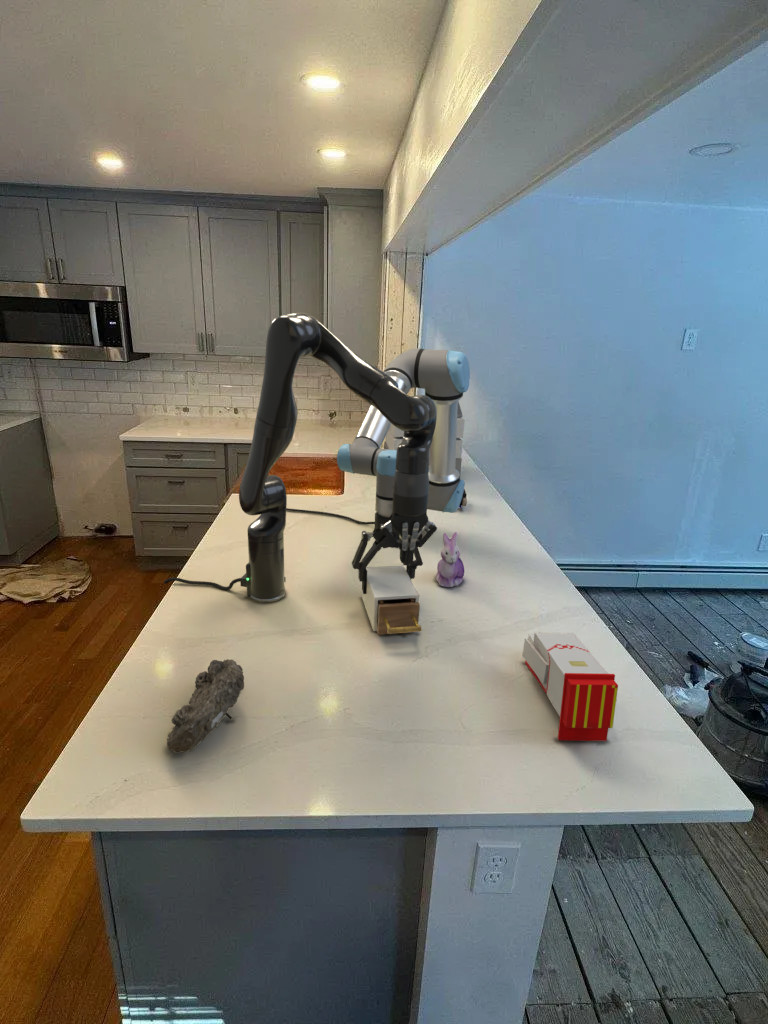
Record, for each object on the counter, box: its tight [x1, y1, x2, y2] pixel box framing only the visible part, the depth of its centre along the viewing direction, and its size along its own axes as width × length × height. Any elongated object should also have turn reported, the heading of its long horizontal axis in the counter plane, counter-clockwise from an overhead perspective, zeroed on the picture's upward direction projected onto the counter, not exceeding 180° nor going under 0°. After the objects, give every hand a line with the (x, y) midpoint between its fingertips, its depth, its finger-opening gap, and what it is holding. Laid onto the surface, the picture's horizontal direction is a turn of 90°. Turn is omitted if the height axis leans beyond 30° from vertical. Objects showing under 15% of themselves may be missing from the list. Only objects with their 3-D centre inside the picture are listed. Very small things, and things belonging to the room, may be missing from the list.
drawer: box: [376, 598, 422, 635], centre depth 140 cm, size 22×10×8 cm, turn 12°
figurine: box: [435, 531, 465, 588], centre depth 164 cm, size 9×10×15 cm
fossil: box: [166, 658, 245, 754], centre depth 106 cm, size 22×10×15 cm
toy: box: [522, 631, 619, 742], centre depth 117 cm, size 12×13×30 cm
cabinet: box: [361, 564, 420, 632], centre depth 146 cm, size 17×11×9 cm, turn 12°
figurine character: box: [458, 488, 468, 511], centre depth 230 cm, size 7×8×15 cm
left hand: (406, 563), depth 127 cm, fingers closed
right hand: (386, 590), depth 150 cm, fingers closed on cabinet, 11 cm apart
